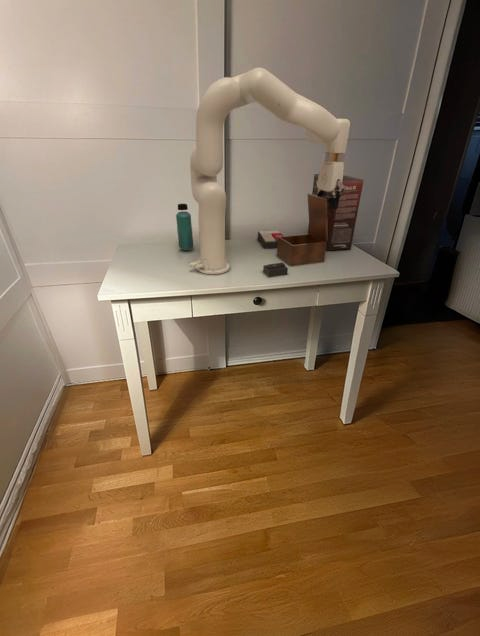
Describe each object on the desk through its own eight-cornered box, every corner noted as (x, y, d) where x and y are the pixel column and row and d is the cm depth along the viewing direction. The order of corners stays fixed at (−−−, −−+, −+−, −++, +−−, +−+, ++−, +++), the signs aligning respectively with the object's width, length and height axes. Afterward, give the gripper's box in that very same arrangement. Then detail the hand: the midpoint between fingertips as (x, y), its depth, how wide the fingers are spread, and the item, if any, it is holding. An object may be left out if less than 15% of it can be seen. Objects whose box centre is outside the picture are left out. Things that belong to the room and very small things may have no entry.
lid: (325, 199, 115) (338, 195, 116) (307, 193, 125) (319, 190, 127) (326, 241, 125) (338, 237, 126) (309, 232, 135) (321, 229, 136)
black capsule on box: (269, 277, 115) (269, 266, 113) (263, 271, 119) (263, 261, 117) (287, 274, 117) (288, 264, 115) (280, 269, 122) (281, 259, 119)
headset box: (305, 236, 161) (314, 164, 144) (328, 234, 163) (339, 164, 146) (326, 251, 140) (339, 170, 123) (351, 250, 142) (367, 170, 125)
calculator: (264, 240, 141) (257, 230, 153) (264, 249, 143) (257, 238, 155) (288, 239, 142) (279, 229, 155) (287, 248, 145) (278, 237, 157)
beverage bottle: (195, 252, 138) (192, 204, 128) (180, 253, 136) (176, 206, 126) (191, 247, 143) (188, 201, 133) (177, 249, 141) (173, 202, 131)
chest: (290, 266, 124) (292, 245, 120) (276, 256, 135) (278, 237, 130) (323, 261, 129) (327, 242, 125) (308, 252, 139) (310, 233, 135)
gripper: (312, 156, 121) (307, 202, 130) (339, 160, 107) (331, 211, 116) (328, 156, 123) (322, 201, 132) (357, 159, 110) (348, 210, 118)
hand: (326, 206), depth 124 cm, fingers open, 9 cm apart
